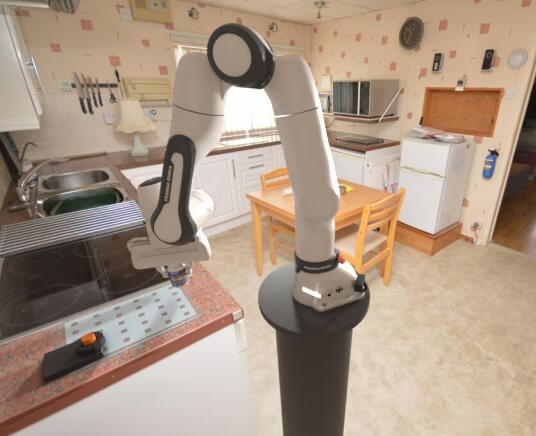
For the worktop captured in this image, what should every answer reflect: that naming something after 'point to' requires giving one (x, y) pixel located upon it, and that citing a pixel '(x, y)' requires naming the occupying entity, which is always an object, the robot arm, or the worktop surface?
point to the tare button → (88, 339)
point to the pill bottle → (177, 275)
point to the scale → (72, 357)
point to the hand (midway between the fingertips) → (178, 274)
